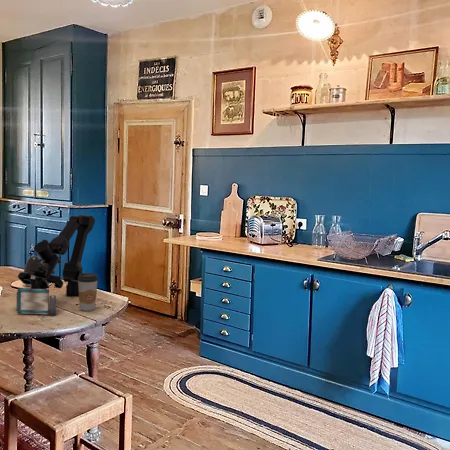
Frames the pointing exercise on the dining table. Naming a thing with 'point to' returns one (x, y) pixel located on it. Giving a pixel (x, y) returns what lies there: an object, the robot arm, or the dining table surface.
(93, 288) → the coffee cup
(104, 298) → the dining table surface
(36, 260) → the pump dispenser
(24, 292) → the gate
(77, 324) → the dining table surface
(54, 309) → the gate posts
